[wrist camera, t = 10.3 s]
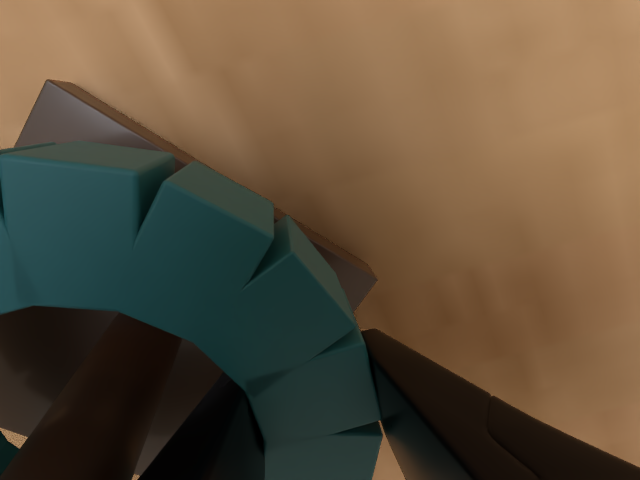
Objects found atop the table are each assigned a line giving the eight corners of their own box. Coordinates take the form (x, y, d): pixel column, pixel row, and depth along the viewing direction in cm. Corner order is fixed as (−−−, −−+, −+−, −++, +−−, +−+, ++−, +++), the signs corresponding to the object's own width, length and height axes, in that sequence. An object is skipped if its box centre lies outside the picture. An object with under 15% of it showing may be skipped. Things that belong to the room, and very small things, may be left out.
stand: (368, 264, 13) (499, 457, 6) (217, 472, 15) (172, 813, 8) (69, 81, 10) (-407, 11, 3) (-70, 366, 12) (-569, 747, 5)
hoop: (441, 293, 10) (493, 349, 8) (231, 583, 12) (222, 690, 10) (-61, 19, 7) (-226, -24, 5) (-202, 474, 9) (-354, 592, 7)
